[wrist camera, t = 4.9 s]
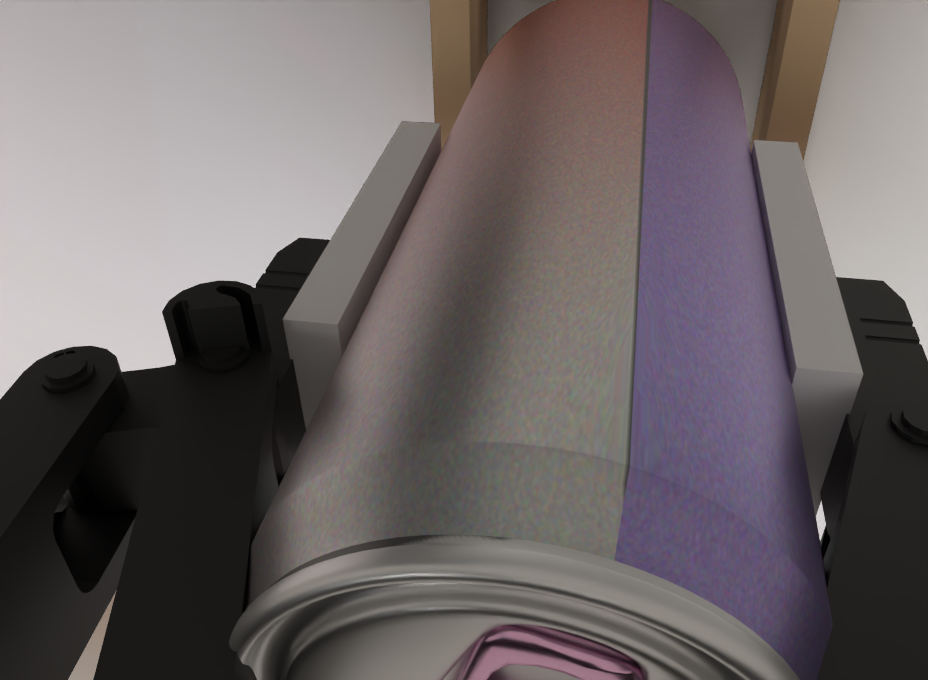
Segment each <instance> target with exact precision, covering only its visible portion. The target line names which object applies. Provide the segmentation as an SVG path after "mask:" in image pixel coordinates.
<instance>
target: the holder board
mask: <svg viewBox="0 0 928 680" xmlns="http://www.w3.org/2000/svg"><path fill="white" fill-rule="evenodd" d="M839 2H840V0H778V3H777V8H776V14H775V19H774V24H773V29H772V35H771V40H770V45H769V51H768V56H767V61H766V67H765V72H764V77H763V83H762V88H761V93H760V98H759V104H758V109H757V114H756V120H755V125H754V130H753V136H752V141H751V146H750V149H751V152H752V147H753V141H754V140H761V141H779V142H798V145H799V149H800V152H801V156H802V159H804V155H805V150H806V146H807V142H808V137H809V133H810V129H811V124H812V120H813V116H814V111H815V107H816V102H817V98H818V94H819V89H820V85H821V81H822V76H823V72H824V68H825V63H826V59H827V55H828V50H829V46H830V41H831V37H832V33H833V28H834V24H835V20H836V15H837V11H838V7H839ZM430 18H431V42H432V66H433V91H434V115H435V123H441V146H442V149H443V146H444V144H445V142H446V140H447V138H448V136H449V134H450V132H451V130H452V128H453V126H454V124H455V122H456V120H457V117H458V115H459V113H460V111H461V109H462V107H463V105H464V103H465V101H466V99H467V97H468V95H469V93H470V91H471V88H472V86H473V84H474V82H475V80H476V78H477V76H478V74H479V72H480V70H481V68H482V66H483V64H484V62H485V60H486V59H487V0H430Z"/></svg>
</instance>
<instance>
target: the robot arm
mask: <svg viewBox="0 0 928 680" xmlns="http://www.w3.org/2000/svg"><path fill="white" fill-rule="evenodd" d="M441 151H442V146H441V123H427V122H409V121H402V122H401V124H400V125H399V127H398V129H397V130H396V132H395V134H394V135H393V137H392V138H391V140H390V142H389V143H388V145H387V147H386V148H385V150H384V152H383V153H382V155H381V157H380V158H379V160H378V162H377V163H376V165H375V167H374V168H373V170H372V172H371V173H370V175H369V177H368V178H367V180H366V182H365V183H364V185H363V187H362V188H361V190H360V192H359V193H358V195H357V197H356V198H355V200H354V202H353V203H352V205H351V207H350V208H349V210H348V212H347V213H346V215H345V216H344V218H343V220H342V221H341V223H340V225H339V226H338V228H337V230H336V231H335V233H334V235H333V236H332V238H331V240H323V239H310V238H298V239H297V240H295V241H294V242H292V243H291V244H289V245H288V246H286V247H285V248H283V249H282V250H280V251H279V252H278V253H277V254H276V256H275V257H274V258H273V260H272V261H271V263H270V264H269V266H268V267H267V269H266V273H265V274H264V273H263V275H262V276H261V278H260V279H259V280H258V282H257V283H256V288H253V287H252V286H250V285H247V284H243V283H240V282H237V281H214V282H209V283H203V284H199V285H196V286H194V287H191V288H189V289H186V290H184V291H182V292H180V293H179V294H178V295H176V296H175V297H173V298H172V299H171V300H169V302H168V303H167V305H166V306H165V308H164V309H163V311H162V313H163V316H164V320H165V323H166V327H167V330H168V334H169V337H170V341H171V344H172V347H173V351H174V354H175V358H176V362H175V365H171V366H166V367H160V368H152V369H144V370H135V371H126V372H121V369H120V366H119V363H118V360H117V358H116V356H115V355H114V354H112V353H111V352H110V351H108V350H107V349H103V348H99V347H94V346H81V347H71V348H66V349H64V350H63V349H62V350H59V351H56V352H53V353H51V354H49V355H47V356H45V357H43V358H41V359H39V360H37V361H36V362H35V363H34V364H32V365H31V366H30V367H29V368H28V369H27V370H25V371H24V372H23V373H22V375H21V376H20V377H19V378H18V379H17V380H16V382H15V383H14V384H13V385H12V386H11V388H10V389H9V390H8V391H7V392H6V393H5V395H4V396H3V397H2V398H1V399H0V680H68V678H69V676H70V675H71V672H72V671H73V669H74V667H75V665H76V663H77V662H78V660H79V658H80V656H81V654H82V652H83V651H84V649H85V647H86V645H87V643H88V641H89V640H90V638H91V636H92V634H93V632H94V630H95V628H96V626H97V625H98V623H99V621H100V619H101V617H102V615H103V614H104V612H105V610H106V608H107V606H108V605H109V603H110V601H111V599H112V597H113V595H114V594H115V592H116V595H115V599H114V602H113V606H112V610H111V614H110V618H109V622H108V625H107V629H106V633H105V637H104V641H103V645H102V649H101V652H100V656H99V660H98V664H97V668H96V672H95V676H94V680H257V678H256V676H255V674H254V672H253V670H252V668H251V667H250V666H248V665H245V664H242V662H241V660H240V658H239V656H238V654H237V652H236V651H233V650H232V649H231V648H230V646H229V641H230V637H231V634H232V632H233V629H234V627H235V625H236V624H237V622H238V620H239V618H240V617H241V616H242V614H243V613H244V612H245V610H246V603H247V591H248V577H249V562H250V548H251V545H252V542H253V540H254V538H255V536H256V533H257V531H258V529H259V527H260V525H261V523H262V521H263V519H264V517H265V515H266V513H267V511H268V509H269V507H270V504H271V502H272V500H273V498H274V496H275V494H276V492H277V490H278V488H279V486H280V484H281V482H282V480H283V478H284V476H285V473H286V471H287V469H288V467H289V465H290V463H291V461H292V459H293V457H294V455H295V453H296V451H297V449H298V447H299V444H300V442H301V440H302V438H303V436H304V434H305V432H306V430H307V428H308V426H309V424H310V422H311V420H312V418H313V415H314V413H315V411H316V409H317V407H318V405H319V403H320V401H321V399H322V397H323V395H324V393H325V391H326V389H327V387H328V384H329V382H330V380H331V378H332V376H333V374H334V372H335V370H336V368H337V366H338V364H339V362H340V360H341V358H342V355H343V353H344V351H345V349H346V347H347V345H348V343H349V341H350V339H351V337H352V335H353V333H354V331H355V329H356V326H357V324H358V322H359V320H360V318H361V316H362V314H363V312H364V310H365V308H366V306H367V304H368V302H369V300H370V298H371V295H372V293H373V291H374V289H375V287H376V285H377V283H378V281H379V279H380V277H381V275H382V273H383V271H384V269H385V266H386V264H387V262H388V260H389V258H390V256H391V254H392V252H393V250H394V248H395V246H396V244H397V242H398V240H399V237H400V235H401V233H402V231H403V229H404V227H405V225H406V223H407V221H408V219H409V217H410V215H411V213H412V211H413V209H414V206H415V204H416V202H417V200H418V198H419V196H420V194H421V192H422V190H423V188H424V186H425V184H426V182H427V180H428V177H429V175H430V173H431V171H432V169H433V167H434V165H435V163H436V161H437V159H438V157H439V155H440V153H441ZM751 156H752V161H753V167H754V173H755V178H756V184H757V190H758V195H759V201H760V207H761V212H762V218H763V224H764V229H765V235H766V241H767V246H768V252H769V258H770V263H771V269H772V275H773V281H774V286H775V292H776V298H777V303H778V309H779V315H780V320H781V326H782V332H783V337H784V343H785V349H786V354H787V360H788V366H789V371H790V377H791V383H792V387H793V392H794V398H795V404H796V409H797V415H798V421H799V426H800V432H801V438H802V443H803V449H804V455H805V460H806V466H807V472H808V477H809V483H810V489H811V494H812V500H813V505H814V511H815V517H816V514H817V511H818V508H819V505H820V502H821V500H822V505H823V511H824V516H825V521H826V527H825V530H824V533H823V535H822V538H821V541H820V545H821V551H822V556H823V562H824V568H825V573H826V579H827V594H828V600H829V605H830V611H831V617H832V622H833V626H832V630H831V633H830V637H829V640H828V643H827V646H826V650H825V653H824V656H823V659H822V663H821V666H820V669H819V673H818V676H817V680H928V361H927V358H926V355H925V353H924V350H923V348H922V345H921V344H919V341H920V340H919V337H918V334H917V332H916V329H915V327H912V325H913V321H912V319H911V316H910V314H909V311H908V308H907V306H906V303H905V301H904V300H903V299H902V298H901V297H900V296H899V295H898V294H897V293H896V292H894V291H893V290H892V289H891V288H890V287H889V286H888V285H887V284H886V283H885V282H884V281H878V280H865V279H852V278H839V277H836V276H835V272H834V269H833V265H832V262H831V258H830V254H829V251H828V247H827V244H826V240H825V237H824V233H823V230H822V226H821V223H820V219H819V216H818V212H817V209H816V205H815V202H814V198H813V194H812V191H811V187H810V184H809V180H808V177H807V173H806V170H805V166H804V163H803V159H802V156H801V152H800V149H799V145H798V142H779V141H761V140H754V141H753V147H752V152H751ZM116 590H117V591H116Z"/></svg>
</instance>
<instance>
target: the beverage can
mask: <svg viewBox="0 0 928 680" xmlns="http://www.w3.org/2000/svg"><path fill="white" fill-rule="evenodd" d="M832 626H833V622H832V617H831V611H830V605H829V600H828V594H827V579H826V573H825V568H824V562H823V556H822V551H821V545H820V539H819V534H818V528H817V522H816V517H815V511H814V505H813V500H812V494H811V489H810V483H809V477H808V472H807V466H806V460H805V455H804V449H803V443H802V438H801V432H800V426H799V421H798V415H797V409H796V404H795V398H794V392H793V387H792V383H791V377H790V371H789V366H788V360H787V354H786V349H785V343H784V337H783V332H782V326H781V320H780V315H779V309H778V303H777V298H776V292H775V286H774V281H773V275H772V269H771V263H770V258H769V252H768V246H767V241H766V235H765V229H764V224H763V218H762V212H761V207H760V201H759V195H758V190H757V184H756V178H755V173H754V167H753V161H752V156H751V149H750V143H749V137H748V132H747V126H746V120H745V115H744V109H743V103H742V98H741V92H740V88H739V84H738V81H737V78H736V75H735V72H734V70H733V68H732V66H731V63H730V61H729V60H728V58H727V56H726V54H725V53H724V51H723V50H722V48H721V47H720V45H719V44H718V43H717V41H716V40H715V39H714V38H713V37H712V35H711V34H710V33H709V32H708V31H707V30H706V29H705V28H704V27H703V26H702V25H700V24H699V23H698V22H697V21H696V20H694V19H693V18H692V17H690V16H689V15H687V14H686V13H685V12H683V11H681V10H679V9H678V8H676V7H674V6H672V5H670V4H668V3H666V2H664V1H661V0H556V1H553V2H551V3H549V4H547V5H545V6H542V7H540V8H539V9H537V10H535V11H534V12H532V13H530V14H529V15H527V16H526V17H524V18H523V19H522V20H520V21H519V22H518V23H517V24H515V25H514V26H513V27H512V28H511V29H510V30H509V31H508V32H507V33H506V34H505V35H504V36H503V37H502V38H501V39H500V40H499V42H498V43H497V44H496V45H495V47H494V48H493V49H492V51H491V52H490V54H489V55H488V57H487V59H486V60H485V62H484V64H483V66H482V68H481V70H480V72H479V74H478V76H477V78H476V80H475V82H474V84H473V86H472V88H471V91H470V93H469V95H468V97H467V99H466V101H465V103H464V105H463V107H462V109H461V111H460V113H459V115H458V117H457V120H456V122H455V124H454V126H453V128H452V130H451V132H450V134H449V136H448V138H447V140H446V142H445V144H444V146H443V149H442V151H441V153H440V155H439V157H438V159H437V161H436V163H435V165H434V167H433V169H432V171H431V173H430V175H429V177H428V180H427V182H426V184H425V186H424V188H423V190H422V192H421V194H420V196H419V198H418V200H417V202H416V204H415V206H414V209H413V211H412V213H411V215H410V217H409V219H408V221H407V223H406V225H405V227H404V229H403V231H402V233H401V235H400V237H399V240H398V242H397V244H396V246H395V248H394V250H393V252H392V254H391V256H390V258H389V260H388V262H387V264H386V266H385V269H384V271H383V273H382V275H381V277H380V279H379V281H378V283H377V285H376V287H375V289H374V291H373V293H372V295H371V298H370V300H369V302H368V304H367V306H366V308H365V310H364V312H363V314H362V316H361V318H360V320H359V322H358V324H357V326H356V329H355V331H354V333H353V335H352V337H351V339H350V341H349V343H348V345H347V347H346V349H345V351H344V353H343V355H342V358H341V360H340V362H339V364H338V366H337V368H336V370H335V372H334V374H333V376H332V378H331V380H330V382H329V384H328V387H327V389H326V391H325V393H324V395H323V397H322V399H321V401H320V403H319V405H318V407H317V409H316V411H315V413H314V415H313V418H312V420H311V422H310V424H309V426H308V428H307V430H306V432H305V434H304V436H303V438H302V440H301V442H300V444H299V447H298V449H297V451H296V453H295V455H294V457H293V459H292V461H291V463H290V465H289V467H288V469H287V471H286V473H285V476H284V478H283V480H282V482H281V484H280V486H279V488H278V490H277V492H276V494H275V496H274V498H273V500H272V502H271V504H270V507H269V509H268V511H267V513H266V515H265V517H264V519H263V521H262V523H261V525H260V527H259V529H258V531H257V533H256V536H255V538H254V540H253V542H252V545H251V548H250V562H249V577H248V591H247V603H246V610H245V612H244V613H243V614H242V616H241V617H240V618H239V620H238V622H237V624H236V625H235V627H234V629H233V632H232V634H231V637H230V641H229V646H230V648H231V649H232V650H233V651H236V652H237V654H238V656H239V658H240V660H241V662H242V664H245V665H248V666H250V667H251V668H252V670H253V672H254V674H255V676H256V678H257V680H817V676H818V673H819V669H820V666H821V663H822V659H823V656H824V653H825V650H826V646H827V643H828V640H829V637H830V633H831V630H832Z"/></svg>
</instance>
